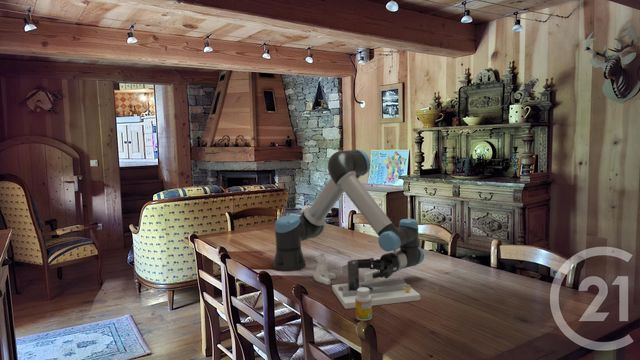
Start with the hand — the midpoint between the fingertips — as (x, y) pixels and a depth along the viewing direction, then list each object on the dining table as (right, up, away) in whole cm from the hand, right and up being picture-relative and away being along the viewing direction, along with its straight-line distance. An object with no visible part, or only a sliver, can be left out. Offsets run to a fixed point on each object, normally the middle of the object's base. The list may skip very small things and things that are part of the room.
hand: (352, 273), depth 163 cm
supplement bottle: (+3, -11, -17) cm, 21 cm away
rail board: (+9, -9, +3) cm, 13 cm away
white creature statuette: (-11, -8, +22) cm, 26 cm away
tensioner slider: (+3, -7, -1) cm, 8 cm away
